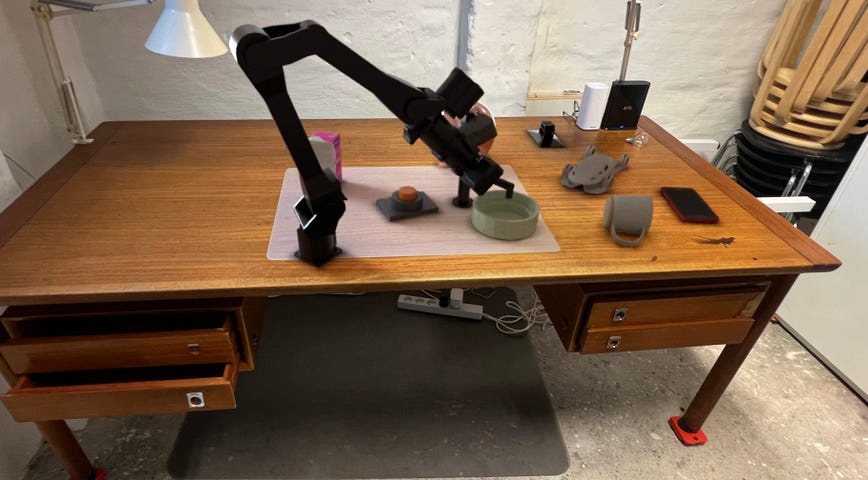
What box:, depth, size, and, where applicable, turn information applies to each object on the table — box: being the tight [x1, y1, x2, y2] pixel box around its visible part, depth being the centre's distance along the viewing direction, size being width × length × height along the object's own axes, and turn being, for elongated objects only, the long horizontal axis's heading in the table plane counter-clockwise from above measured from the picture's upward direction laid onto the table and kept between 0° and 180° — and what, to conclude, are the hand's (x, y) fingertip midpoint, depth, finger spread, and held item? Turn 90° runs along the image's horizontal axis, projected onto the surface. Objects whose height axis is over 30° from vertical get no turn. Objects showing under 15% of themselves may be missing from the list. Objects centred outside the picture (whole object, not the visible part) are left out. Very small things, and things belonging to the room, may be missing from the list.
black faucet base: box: [451, 176, 474, 209], centre depth 109 cm, size 5×5×6 cm
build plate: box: [526, 120, 566, 149], centre depth 141 cm, size 12×7×5 cm, turn 7°
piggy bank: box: [437, 100, 497, 168], centre depth 124 cm, size 15×18×16 cm
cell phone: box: [659, 186, 720, 224], centre depth 112 cm, size 8×15×1 cm, turn 177°
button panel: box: [375, 189, 439, 222], centre depth 107 cm, size 11×8×3 cm
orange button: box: [398, 185, 417, 201], centre depth 106 cm, size 4×4×2 cm
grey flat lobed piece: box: [561, 145, 630, 195], centre depth 122 cm, size 11×24×5 cm, turn 146°
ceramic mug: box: [602, 194, 654, 248], centre depth 100 cm, size 11×8×8 cm
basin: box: [470, 189, 541, 241], centre depth 103 cm, size 13×13×4 cm
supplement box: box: [308, 130, 343, 183], centre depth 113 cm, size 6×6×12 cm
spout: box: [493, 177, 516, 199], centre depth 103 cm, size 14×3×3 cm, turn 44°
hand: (488, 184), depth 100 cm, fingers closed
